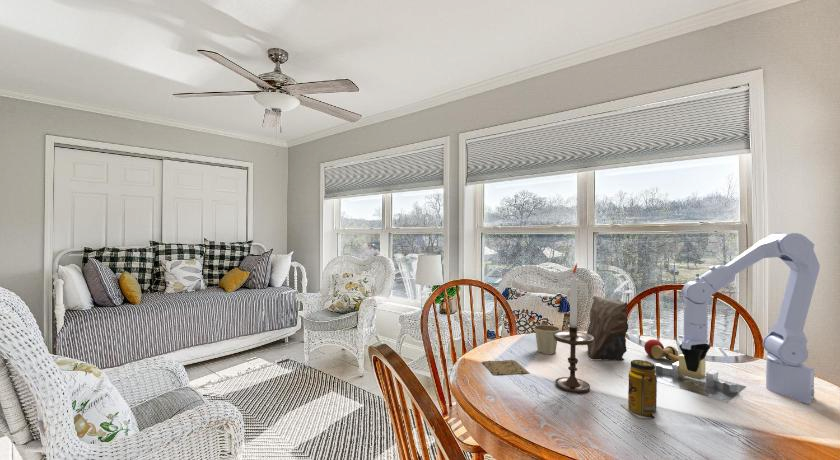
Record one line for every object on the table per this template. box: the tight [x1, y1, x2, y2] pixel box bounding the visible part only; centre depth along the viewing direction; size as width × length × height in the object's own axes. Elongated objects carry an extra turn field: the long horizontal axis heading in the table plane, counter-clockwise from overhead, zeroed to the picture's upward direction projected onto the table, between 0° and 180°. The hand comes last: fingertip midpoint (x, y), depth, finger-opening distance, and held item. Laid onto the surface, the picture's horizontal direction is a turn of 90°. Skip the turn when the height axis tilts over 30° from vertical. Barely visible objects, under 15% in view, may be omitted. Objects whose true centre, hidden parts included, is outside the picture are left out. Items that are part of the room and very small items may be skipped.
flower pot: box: [532, 324, 562, 355], centre depth 141 cm, size 9×9×9 cm
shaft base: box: [654, 361, 747, 403], centre depth 113 cm, size 21×17×4 cm
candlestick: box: [553, 263, 594, 394], centre depth 110 cm, size 11×11×35 cm
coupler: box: [678, 353, 706, 380], centre depth 115 cm, size 6×4×6 cm, turn 37°
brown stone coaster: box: [481, 359, 530, 376], centre depth 125 cm, size 12×12×1 cm
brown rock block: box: [586, 295, 629, 361], centre depth 138 cm, size 13×13×20 cm
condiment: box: [621, 359, 658, 420], centre depth 96 cm, size 7×8×12 cm
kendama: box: [643, 338, 679, 363], centre depth 132 cm, size 8×6×18 cm
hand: (694, 369), depth 114 cm, fingers closed on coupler, 4 cm apart
